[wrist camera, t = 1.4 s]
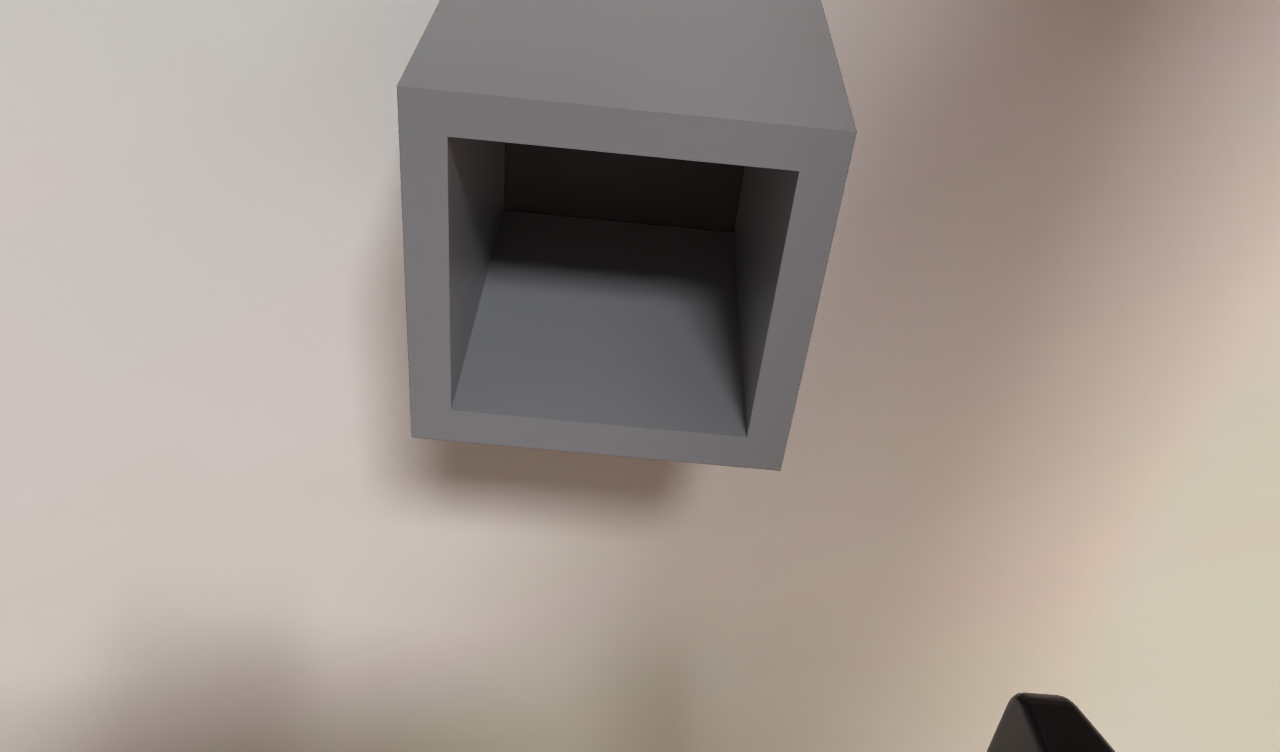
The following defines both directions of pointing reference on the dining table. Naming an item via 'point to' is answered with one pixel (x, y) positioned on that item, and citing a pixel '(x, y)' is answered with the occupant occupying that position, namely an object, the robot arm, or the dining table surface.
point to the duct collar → (618, 225)
